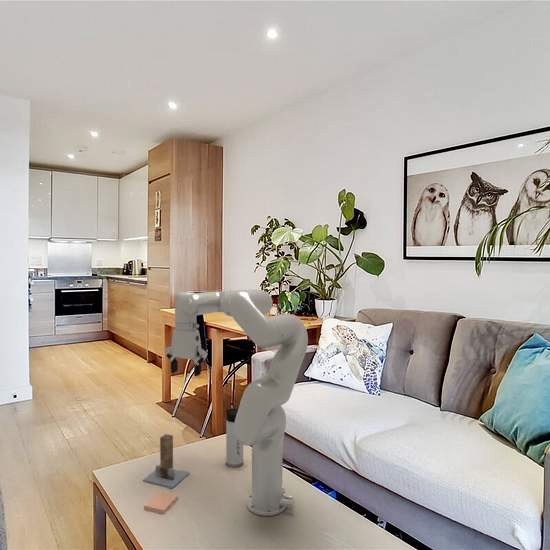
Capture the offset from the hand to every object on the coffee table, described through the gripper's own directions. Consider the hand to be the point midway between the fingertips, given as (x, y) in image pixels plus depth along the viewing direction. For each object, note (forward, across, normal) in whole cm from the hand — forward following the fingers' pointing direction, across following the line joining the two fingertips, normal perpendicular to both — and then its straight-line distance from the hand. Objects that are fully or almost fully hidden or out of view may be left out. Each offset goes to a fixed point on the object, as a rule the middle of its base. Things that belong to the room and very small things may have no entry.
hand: (185, 373), depth 153 cm
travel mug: (+34, -15, -9) cm, 39 cm away
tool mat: (+34, +2, +9) cm, 36 cm away
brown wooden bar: (+34, +2, +9) cm, 35 cm away
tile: (+34, -6, +18) cm, 39 cm away
